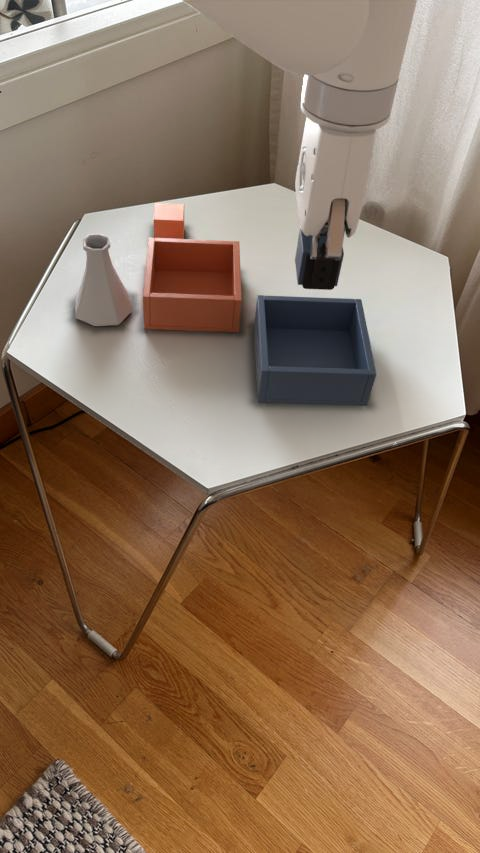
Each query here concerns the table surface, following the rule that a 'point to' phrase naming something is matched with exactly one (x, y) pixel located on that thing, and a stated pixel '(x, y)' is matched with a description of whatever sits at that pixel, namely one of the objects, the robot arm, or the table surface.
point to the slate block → (301, 254)
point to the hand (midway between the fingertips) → (315, 270)
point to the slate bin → (312, 351)
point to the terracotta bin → (192, 285)
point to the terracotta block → (169, 221)
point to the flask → (101, 287)
